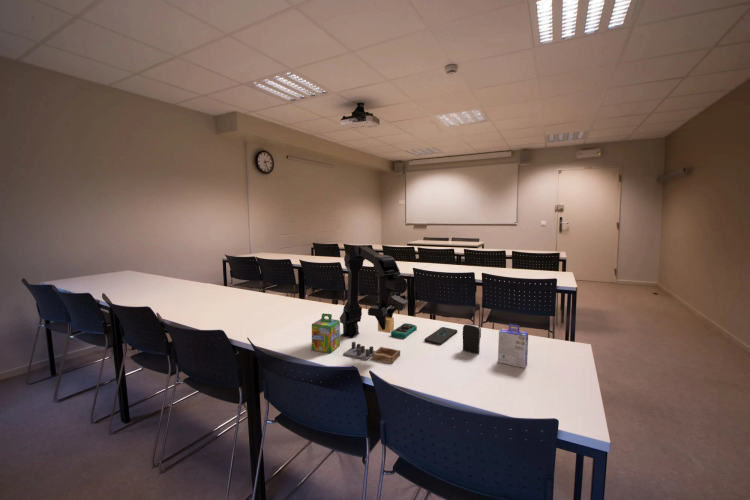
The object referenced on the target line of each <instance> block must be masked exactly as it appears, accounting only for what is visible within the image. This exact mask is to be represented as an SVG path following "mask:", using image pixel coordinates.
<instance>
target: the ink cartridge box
mask: <svg viewBox="0 0 750 500" xmlns="http://www.w3.org/2000/svg"><path fill="white" fill-rule="evenodd" d="M512 327H515V328H512ZM497 349H498V350H497V362H498V363H500V364H505V365H509V366H514V367H519V368H523V369H525V368H526V367H527V365H528V351H529V350H528V349H529V331H523V330H520V325H519V324H513V323H509V326H508V328H501V329H500V330H499V331H498V347H497Z"/></svg>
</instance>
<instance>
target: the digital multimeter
mask: <svg viewBox="0 0 750 500" xmlns="http://www.w3.org/2000/svg"><path fill="white" fill-rule="evenodd" d="M417 329H418V327H417V325H415V324H413V323H407V322H406V323H402V324H401V325H399V326H398V327H397V328H394V330H393V331H392V332H390V336H391V337H393V338H398V339H406V338H408V336H410V335H412V333H415V332H416V331H417Z"/></svg>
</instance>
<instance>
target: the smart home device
mask: <svg viewBox="0 0 750 500" xmlns="http://www.w3.org/2000/svg"><path fill="white" fill-rule="evenodd" d="M456 334H458V329H454V328H449V327H446V326H445V327H444V326H441V327H440V328H438V329H436V331H434V332H432V333H431V334H429V335H428V336H427V337H426V338H424V339H423V341H424V343H427V344H428V343H429V344H430V345H431V344H432V345H435V346H437V345H438V346H442V345H443V344H444V343H446V342H448V341H449V340H450V339H452V337H454V336H455V335H456Z"/></svg>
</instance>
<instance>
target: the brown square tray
mask: <svg viewBox="0 0 750 500" xmlns="http://www.w3.org/2000/svg"><path fill="white" fill-rule="evenodd" d="M374 351H375V352H374V353H373V354H372V357H371V358H372V360H375V361H380V362H384V363H388V364H393V363H394V362H395V361H397V360H398V358H400V357H401V350H399V349H394V348H389V347H384V346H380V347H379V348H378V349H376V350H374Z"/></svg>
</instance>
